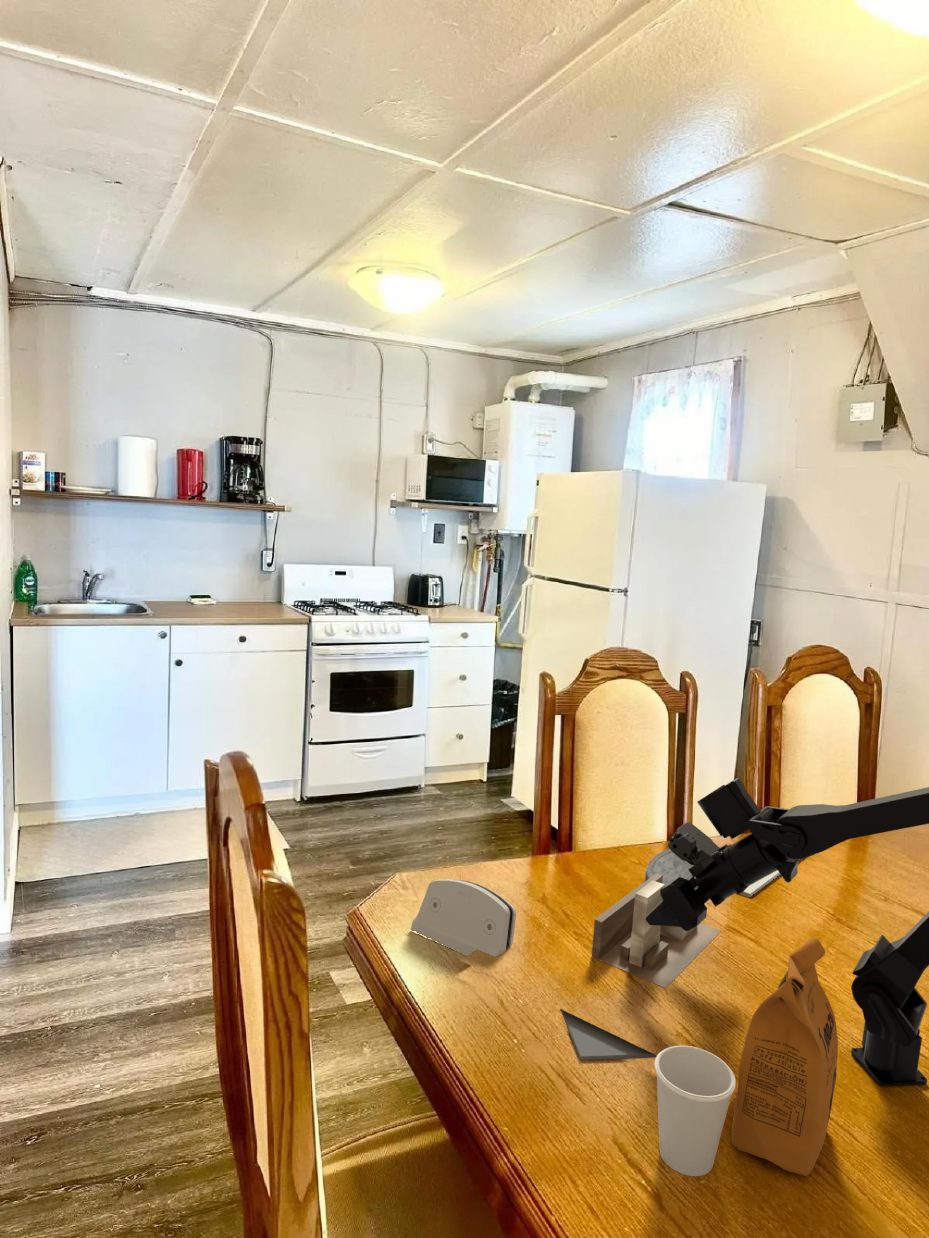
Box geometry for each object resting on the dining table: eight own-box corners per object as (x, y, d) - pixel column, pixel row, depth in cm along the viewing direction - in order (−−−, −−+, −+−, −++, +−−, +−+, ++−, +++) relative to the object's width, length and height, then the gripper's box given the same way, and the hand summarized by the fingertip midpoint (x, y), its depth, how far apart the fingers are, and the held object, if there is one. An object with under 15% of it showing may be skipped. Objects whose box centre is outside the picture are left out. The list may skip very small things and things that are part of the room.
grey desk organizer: (720, 938, 133) (725, 895, 132) (664, 997, 116) (669, 948, 115) (652, 913, 140) (656, 872, 139) (590, 965, 123) (594, 919, 122)
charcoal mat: (671, 1056, 103) (672, 1053, 103) (580, 1059, 102) (580, 1056, 101) (639, 999, 115) (640, 996, 115) (557, 1001, 113) (557, 998, 113)
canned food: (695, 926, 146) (708, 892, 141) (639, 913, 148) (650, 879, 142) (694, 875, 156) (707, 842, 150) (642, 863, 157) (652, 829, 151)
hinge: (407, 930, 130) (423, 868, 132) (424, 929, 134) (439, 868, 135) (495, 968, 121) (511, 900, 122) (510, 965, 125) (525, 900, 126)
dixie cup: (694, 1118, 93) (702, 1038, 91) (743, 1175, 85) (753, 1088, 84) (631, 1135, 90) (639, 1052, 88) (676, 1195, 82) (686, 1105, 81)
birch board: (658, 951, 125) (664, 884, 124) (641, 967, 121) (647, 897, 119) (646, 946, 126) (652, 880, 125) (629, 962, 122) (635, 893, 120)
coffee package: (842, 1127, 93) (866, 947, 90) (811, 1195, 83) (836, 996, 80) (755, 1085, 99) (774, 916, 96) (717, 1144, 89) (737, 958, 86)
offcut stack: (697, 926, 134) (700, 901, 133) (681, 942, 128) (684, 916, 128) (666, 915, 137) (668, 890, 136) (649, 929, 132) (652, 904, 131)
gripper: (730, 797, 123) (655, 844, 131) (681, 831, 108) (600, 882, 116) (776, 862, 119) (697, 906, 128) (732, 907, 105) (645, 953, 113)
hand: (660, 910), depth 121 cm, fingers open, 9 cm apart
